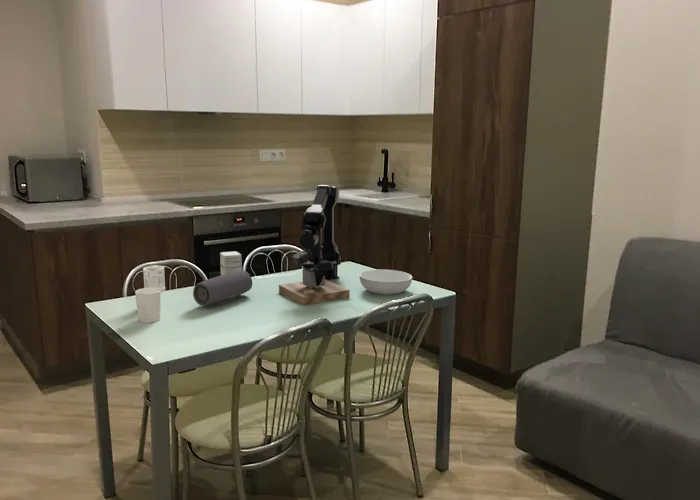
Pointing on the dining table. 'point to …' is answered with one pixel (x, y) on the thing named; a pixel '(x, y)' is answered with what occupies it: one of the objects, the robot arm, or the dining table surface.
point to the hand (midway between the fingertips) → (313, 283)
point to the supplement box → (230, 262)
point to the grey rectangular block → (311, 279)
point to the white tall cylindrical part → (154, 277)
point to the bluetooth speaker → (222, 288)
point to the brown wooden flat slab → (313, 292)
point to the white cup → (148, 304)
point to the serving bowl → (385, 281)
